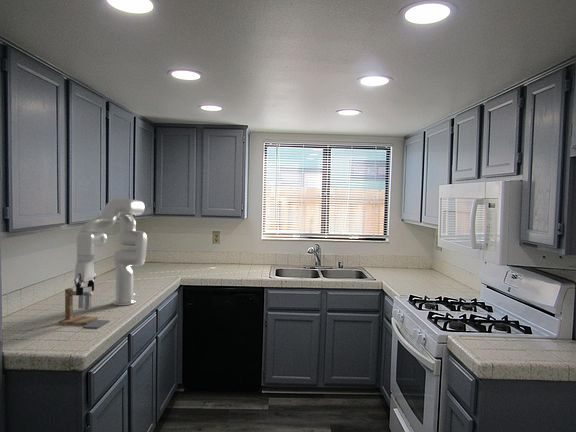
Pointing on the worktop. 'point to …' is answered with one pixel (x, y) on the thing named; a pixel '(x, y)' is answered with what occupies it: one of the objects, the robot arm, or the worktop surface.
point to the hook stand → (69, 310)
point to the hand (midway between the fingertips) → (85, 292)
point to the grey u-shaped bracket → (85, 299)
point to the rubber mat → (96, 324)
